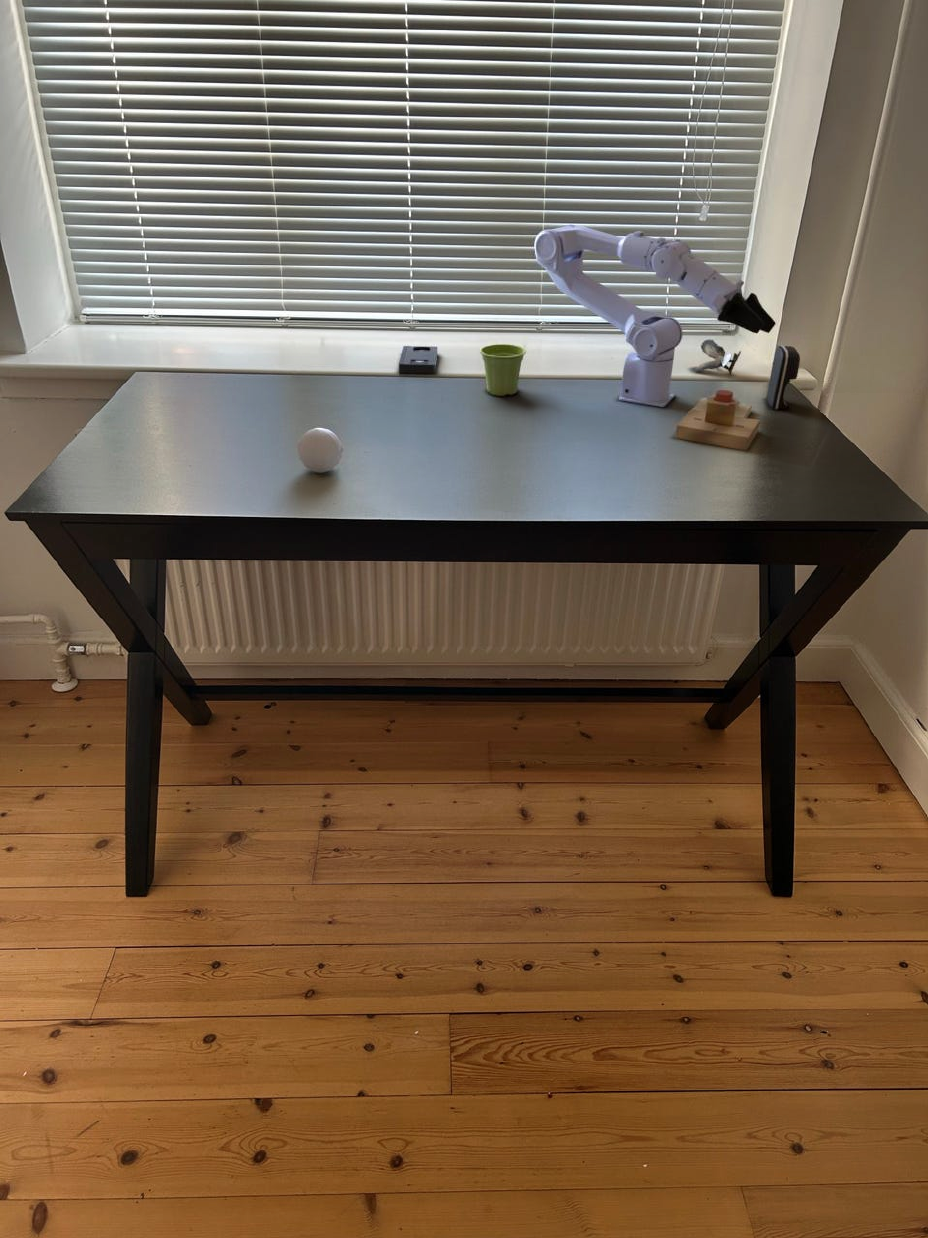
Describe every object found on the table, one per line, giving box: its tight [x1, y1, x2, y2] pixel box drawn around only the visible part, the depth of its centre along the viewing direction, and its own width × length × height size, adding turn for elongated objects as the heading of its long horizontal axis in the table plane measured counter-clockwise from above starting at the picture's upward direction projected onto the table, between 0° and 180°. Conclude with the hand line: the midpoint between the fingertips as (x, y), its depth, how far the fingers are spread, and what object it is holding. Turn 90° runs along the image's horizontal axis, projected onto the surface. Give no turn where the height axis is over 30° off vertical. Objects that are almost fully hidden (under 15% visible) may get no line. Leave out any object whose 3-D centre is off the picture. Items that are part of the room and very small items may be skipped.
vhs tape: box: [398, 345, 438, 374], centre depth 200 cm, size 14×8×2 cm, turn 179°
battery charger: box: [765, 345, 801, 410], centre depth 175 cm, size 7×4×11 cm, turn 174°
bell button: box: [715, 389, 734, 403], centre depth 172 cm, size 3×3×2 cm
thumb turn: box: [705, 400, 736, 426], centre depth 161 cm, size 5×1×4 cm, turn 63°
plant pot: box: [479, 343, 527, 397], centre depth 182 cm, size 9×9×9 cm
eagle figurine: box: [691, 339, 742, 376], centre depth 195 cm, size 8×7×9 cm
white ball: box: [297, 427, 344, 474], centre depth 148 cm, size 10×7×7 cm
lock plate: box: [674, 408, 761, 451], centre depth 163 cm, size 13×10×3 cm
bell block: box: [692, 394, 753, 418], centre depth 173 cm, size 10×8×3 cm
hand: (766, 328), depth 160 cm, fingers open, 7 cm apart
